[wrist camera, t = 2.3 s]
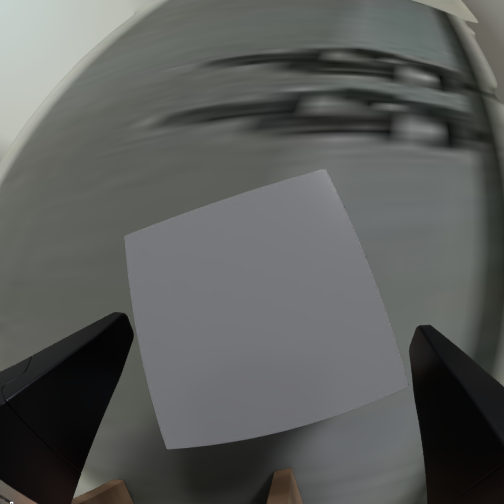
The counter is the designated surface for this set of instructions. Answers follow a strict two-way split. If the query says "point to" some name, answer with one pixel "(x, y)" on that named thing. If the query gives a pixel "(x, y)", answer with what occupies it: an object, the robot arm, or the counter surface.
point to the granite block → (259, 315)
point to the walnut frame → (118, 500)
